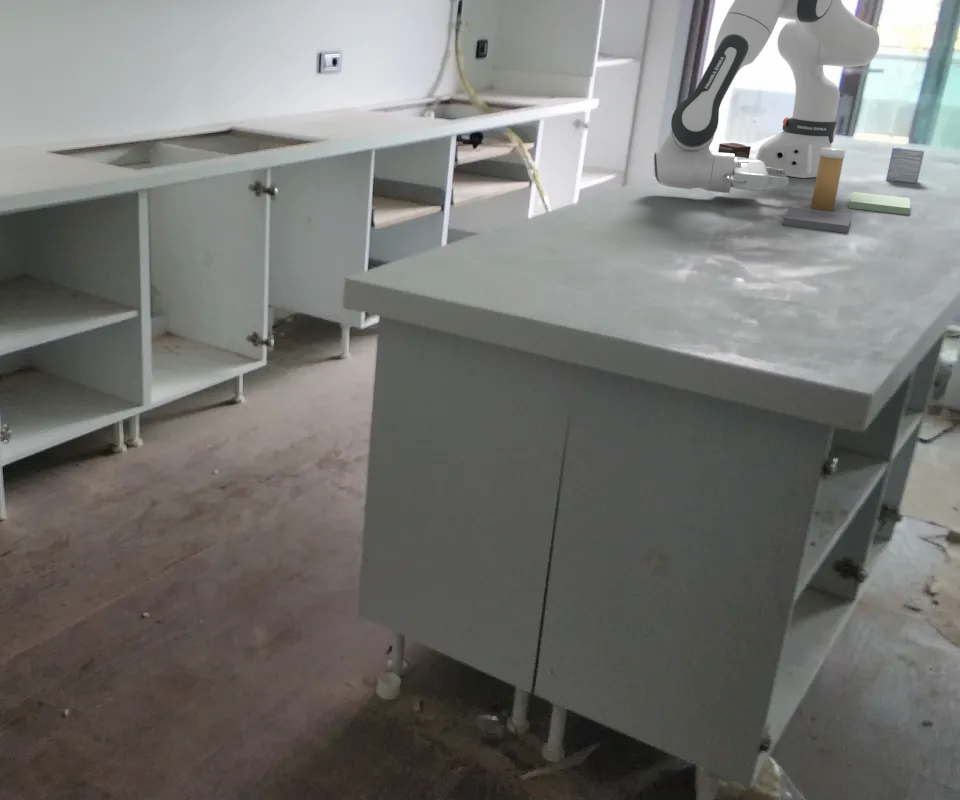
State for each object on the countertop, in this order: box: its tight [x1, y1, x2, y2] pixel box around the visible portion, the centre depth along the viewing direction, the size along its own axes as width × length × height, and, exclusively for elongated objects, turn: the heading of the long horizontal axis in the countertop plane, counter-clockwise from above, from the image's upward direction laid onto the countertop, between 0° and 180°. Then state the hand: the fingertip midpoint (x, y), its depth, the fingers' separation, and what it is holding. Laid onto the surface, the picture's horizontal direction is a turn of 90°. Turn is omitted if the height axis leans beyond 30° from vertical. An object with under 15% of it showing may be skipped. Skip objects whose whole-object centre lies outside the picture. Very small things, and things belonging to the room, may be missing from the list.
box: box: [717, 142, 752, 158], centre depth 259 cm, size 6×6×7 cm
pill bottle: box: [810, 146, 846, 212], centre depth 218 cm, size 5×5×13 cm
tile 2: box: [848, 191, 911, 216], centre depth 227 cm, size 13×13×2 cm
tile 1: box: [782, 206, 852, 234], centre depth 207 cm, size 13×13×2 cm
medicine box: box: [885, 145, 925, 184], centre depth 259 cm, size 8×4×9 cm, turn 65°
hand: (786, 177), depth 220 cm, fingers open, 8 cm apart
